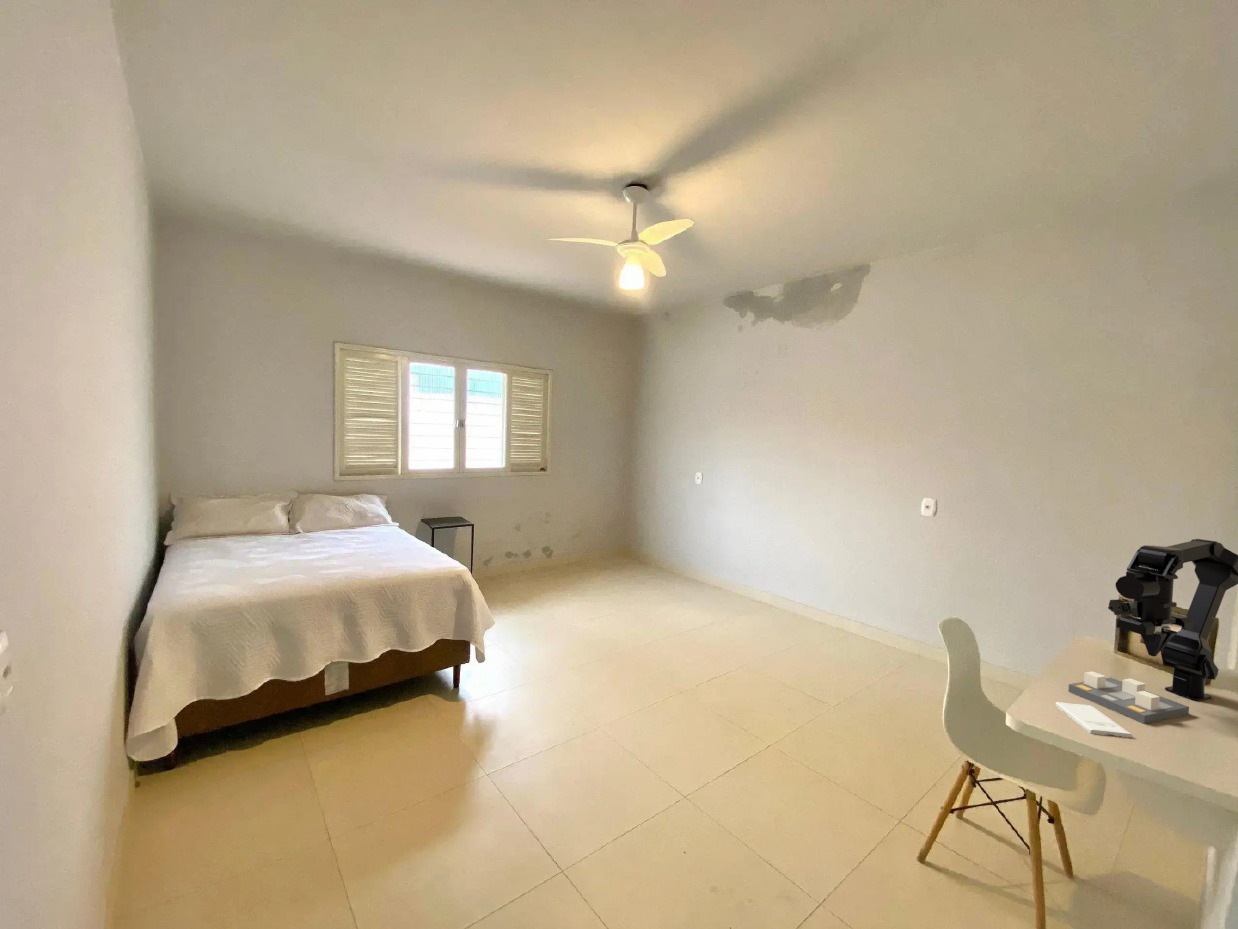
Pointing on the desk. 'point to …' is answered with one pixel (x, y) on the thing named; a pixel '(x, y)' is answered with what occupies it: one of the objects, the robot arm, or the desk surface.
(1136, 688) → the tab
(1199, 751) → the desk surface
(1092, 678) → the tab
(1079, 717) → the external hard drive
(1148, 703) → the tab
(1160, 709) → the switch panel
